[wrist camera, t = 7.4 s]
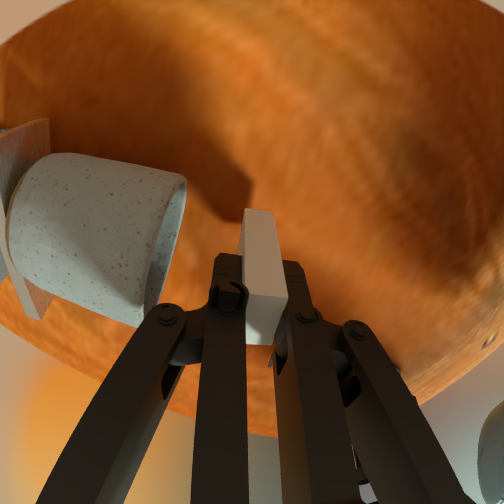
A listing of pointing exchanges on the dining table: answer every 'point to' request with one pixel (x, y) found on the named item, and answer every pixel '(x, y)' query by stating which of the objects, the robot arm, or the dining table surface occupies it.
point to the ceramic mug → (96, 231)
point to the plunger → (3, 185)
